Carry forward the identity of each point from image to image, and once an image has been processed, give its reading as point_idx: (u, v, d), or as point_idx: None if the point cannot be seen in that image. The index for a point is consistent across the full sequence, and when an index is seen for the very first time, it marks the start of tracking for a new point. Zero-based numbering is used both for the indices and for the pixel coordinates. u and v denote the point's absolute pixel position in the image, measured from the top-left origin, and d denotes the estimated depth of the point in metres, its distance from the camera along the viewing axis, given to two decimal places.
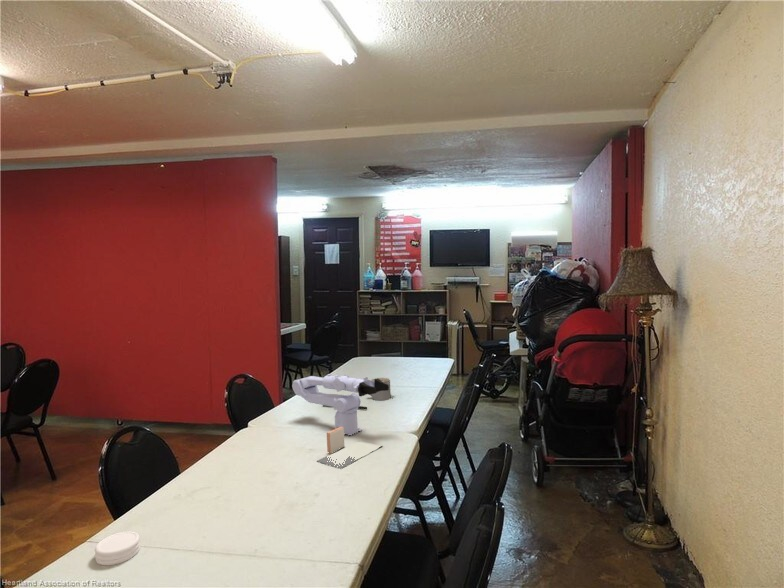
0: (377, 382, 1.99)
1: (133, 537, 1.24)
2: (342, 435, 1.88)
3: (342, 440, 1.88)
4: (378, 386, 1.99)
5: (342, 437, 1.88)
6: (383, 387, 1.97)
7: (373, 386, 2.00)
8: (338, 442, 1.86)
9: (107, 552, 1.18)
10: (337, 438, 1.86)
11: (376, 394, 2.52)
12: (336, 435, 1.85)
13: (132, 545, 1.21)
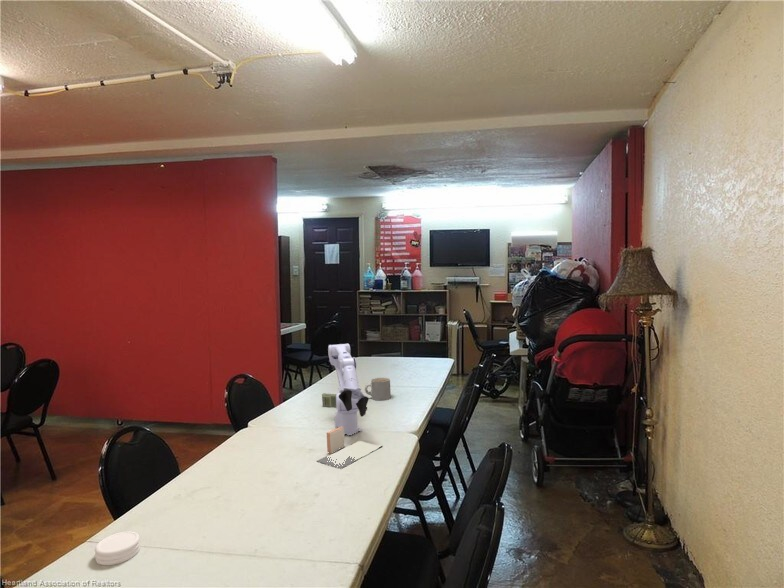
0: (363, 400, 1.91)
1: (133, 537, 1.24)
2: (342, 435, 1.88)
3: (342, 440, 1.88)
4: (360, 404, 1.91)
5: (342, 437, 1.88)
6: (361, 410, 1.89)
7: (358, 398, 1.92)
8: (338, 442, 1.86)
9: (107, 552, 1.18)
10: (337, 438, 1.86)
11: (376, 394, 2.52)
12: (336, 435, 1.85)
13: (132, 545, 1.21)
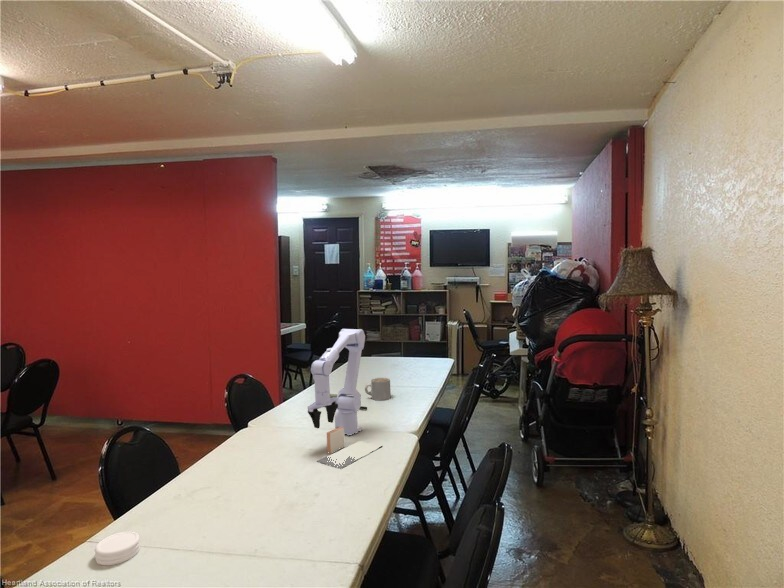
0: (332, 409, 1.91)
1: (133, 537, 1.24)
2: (342, 435, 1.88)
3: (342, 440, 1.88)
4: (329, 409, 1.92)
5: (342, 436, 1.88)
6: (329, 416, 1.92)
7: (328, 404, 1.92)
8: (338, 442, 1.86)
9: (107, 552, 1.18)
10: (337, 438, 1.86)
11: (376, 394, 2.52)
12: (336, 435, 1.85)
13: (132, 545, 1.21)
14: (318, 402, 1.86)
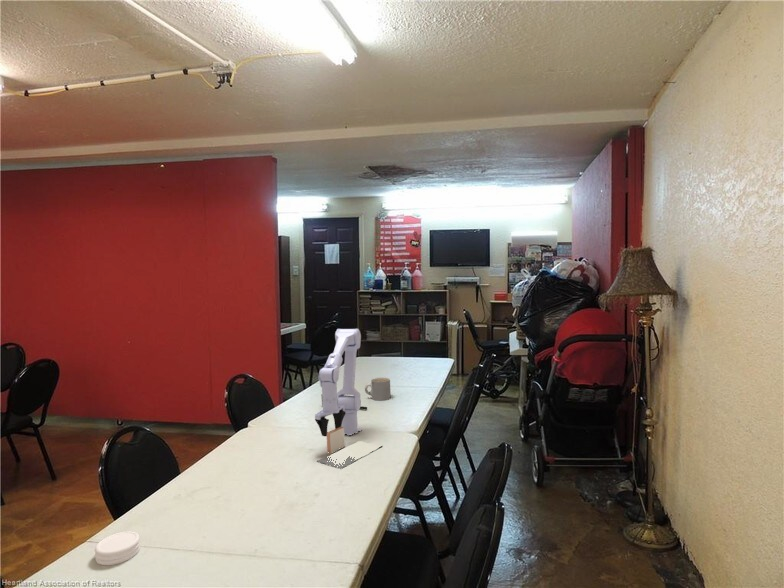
0: (340, 416, 1.89)
1: (133, 537, 1.24)
2: (342, 435, 1.88)
3: (342, 440, 1.88)
4: (337, 417, 1.90)
5: (342, 437, 1.88)
6: (337, 424, 1.90)
7: None
8: (338, 442, 1.86)
9: (107, 552, 1.18)
10: (337, 438, 1.86)
11: (376, 394, 2.52)
12: (336, 435, 1.85)
13: (132, 545, 1.21)
14: (325, 410, 1.84)
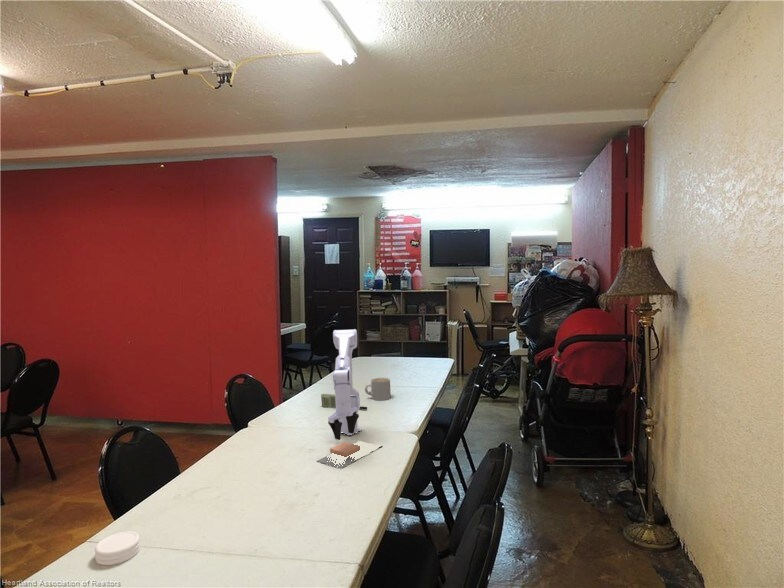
0: (353, 419, 1.85)
1: (133, 537, 1.24)
2: None
3: None
4: (350, 420, 1.86)
5: None
6: (350, 427, 1.86)
7: None
8: None
9: (107, 552, 1.18)
10: None
11: (376, 394, 2.52)
12: None
13: (132, 545, 1.21)
14: (339, 413, 1.80)
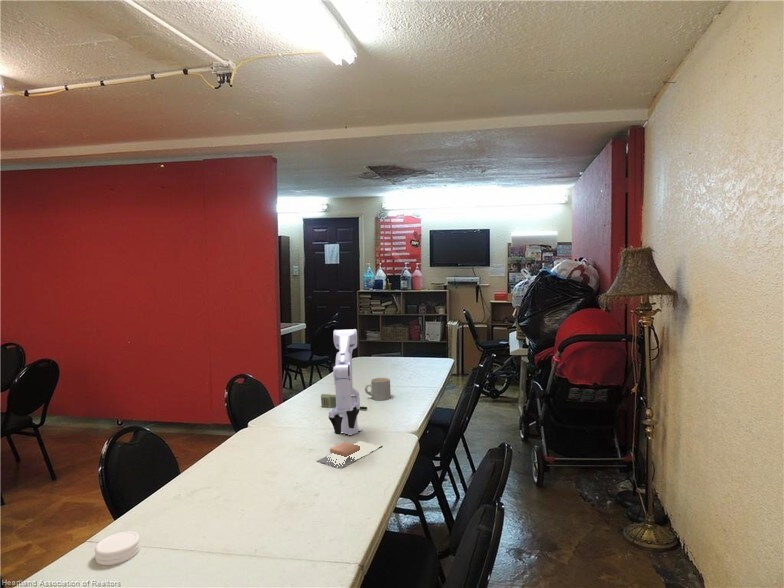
0: (353, 414, 1.85)
1: (133, 537, 1.24)
2: None
3: None
4: (350, 415, 1.86)
5: None
6: (350, 422, 1.86)
7: None
8: None
9: (107, 552, 1.18)
10: None
11: (376, 394, 2.52)
12: None
13: (132, 545, 1.21)
14: (339, 407, 1.80)
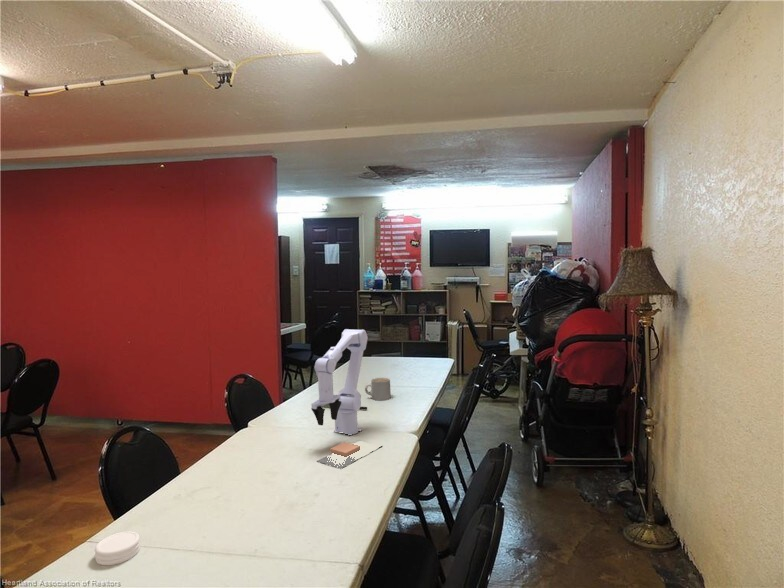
0: (336, 406, 1.93)
1: (133, 537, 1.24)
2: None
3: None
4: (333, 407, 1.94)
5: None
6: (333, 413, 1.94)
7: None
8: None
9: (107, 552, 1.18)
10: None
11: (376, 394, 2.52)
12: None
13: (132, 545, 1.21)
14: (322, 399, 1.88)
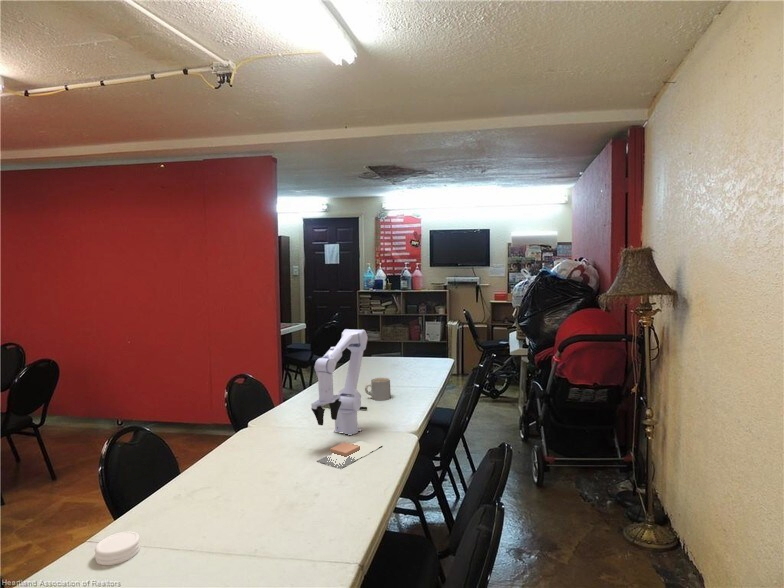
0: (336, 406, 1.93)
1: (133, 537, 1.24)
2: None
3: None
4: (333, 407, 1.94)
5: None
6: (333, 413, 1.94)
7: None
8: None
9: (107, 552, 1.18)
10: None
11: (376, 394, 2.52)
12: None
13: (132, 545, 1.21)
14: (322, 399, 1.88)
